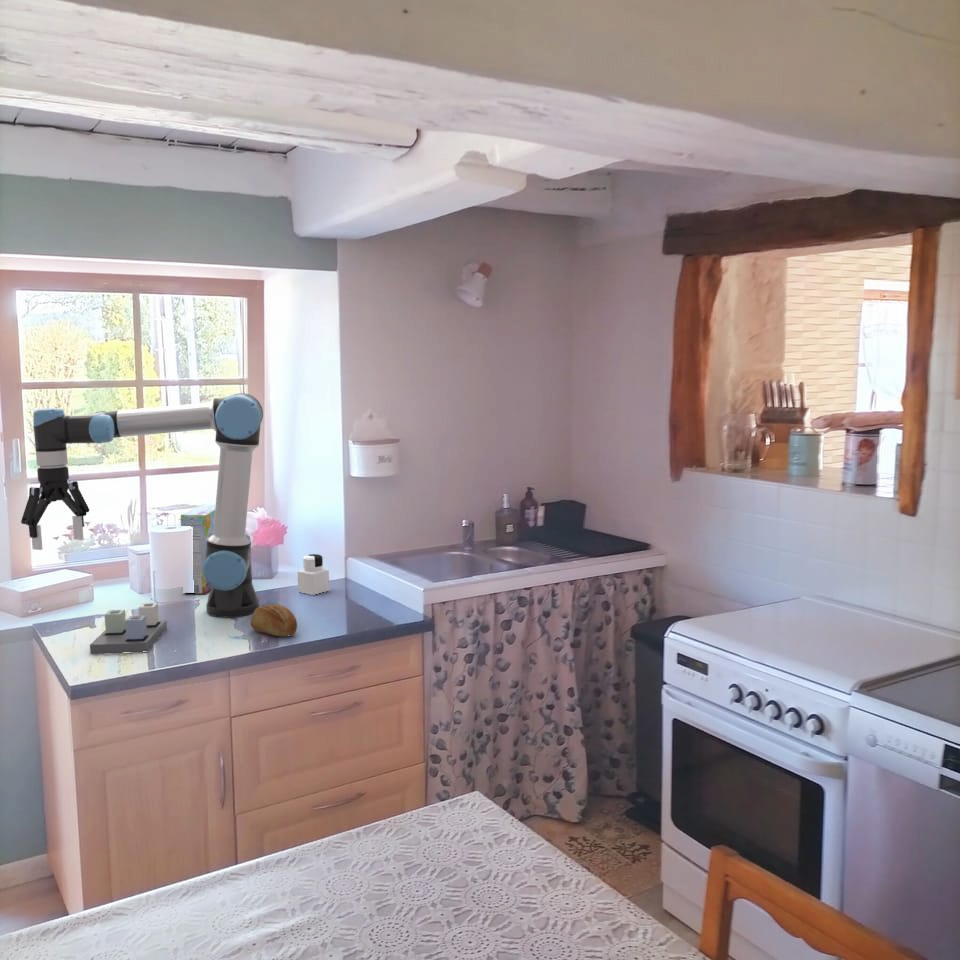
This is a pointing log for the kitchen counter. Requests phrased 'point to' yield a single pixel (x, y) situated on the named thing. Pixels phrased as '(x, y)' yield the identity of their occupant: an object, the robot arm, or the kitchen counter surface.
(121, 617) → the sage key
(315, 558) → the stacked cream blocks
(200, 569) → the snack box
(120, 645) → the keypad board
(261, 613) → the bread roll
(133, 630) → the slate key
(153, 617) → the ivory key
